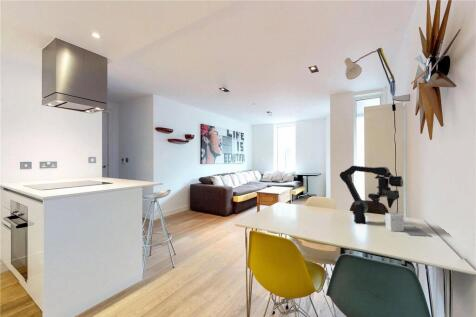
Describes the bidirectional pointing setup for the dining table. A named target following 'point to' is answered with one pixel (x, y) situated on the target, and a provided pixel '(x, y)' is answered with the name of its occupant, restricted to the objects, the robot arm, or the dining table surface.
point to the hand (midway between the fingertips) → (383, 208)
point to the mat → (415, 231)
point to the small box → (394, 221)
